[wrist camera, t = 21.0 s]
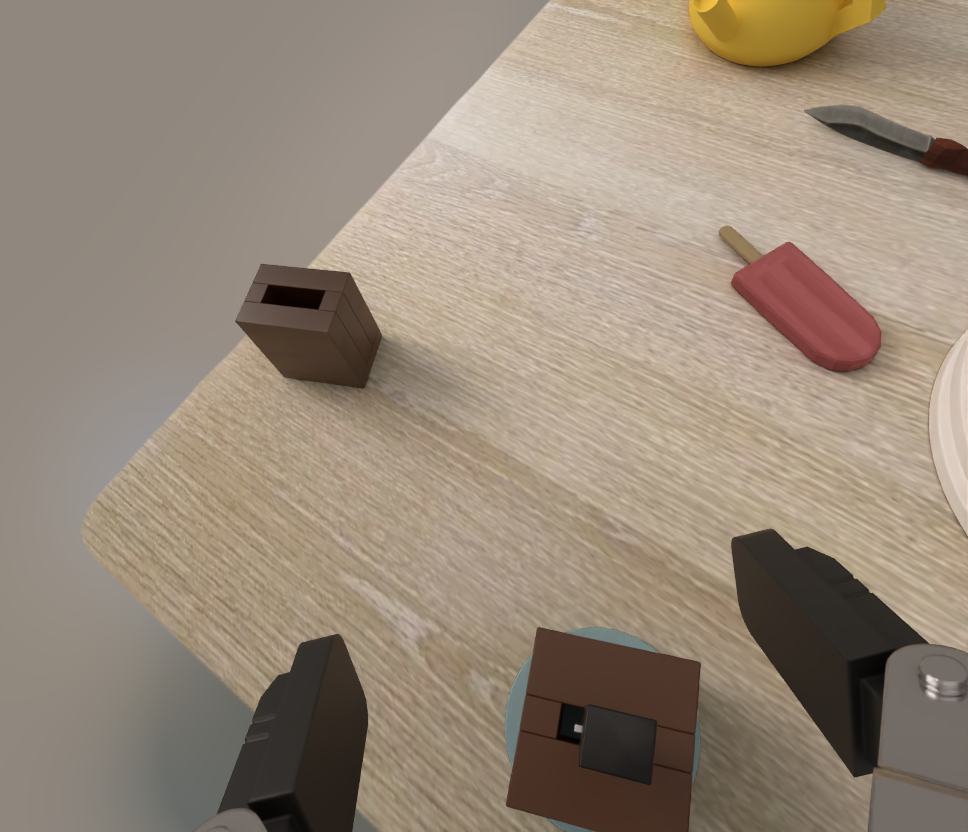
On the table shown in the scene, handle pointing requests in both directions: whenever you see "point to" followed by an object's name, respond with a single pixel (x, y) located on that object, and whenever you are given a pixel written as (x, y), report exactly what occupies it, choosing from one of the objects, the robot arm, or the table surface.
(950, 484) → the plate stack
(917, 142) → the knife
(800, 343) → the popsicle
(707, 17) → the teapot
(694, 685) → the slotted wooden stand
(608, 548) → the table surface
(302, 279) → the knife block
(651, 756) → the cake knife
